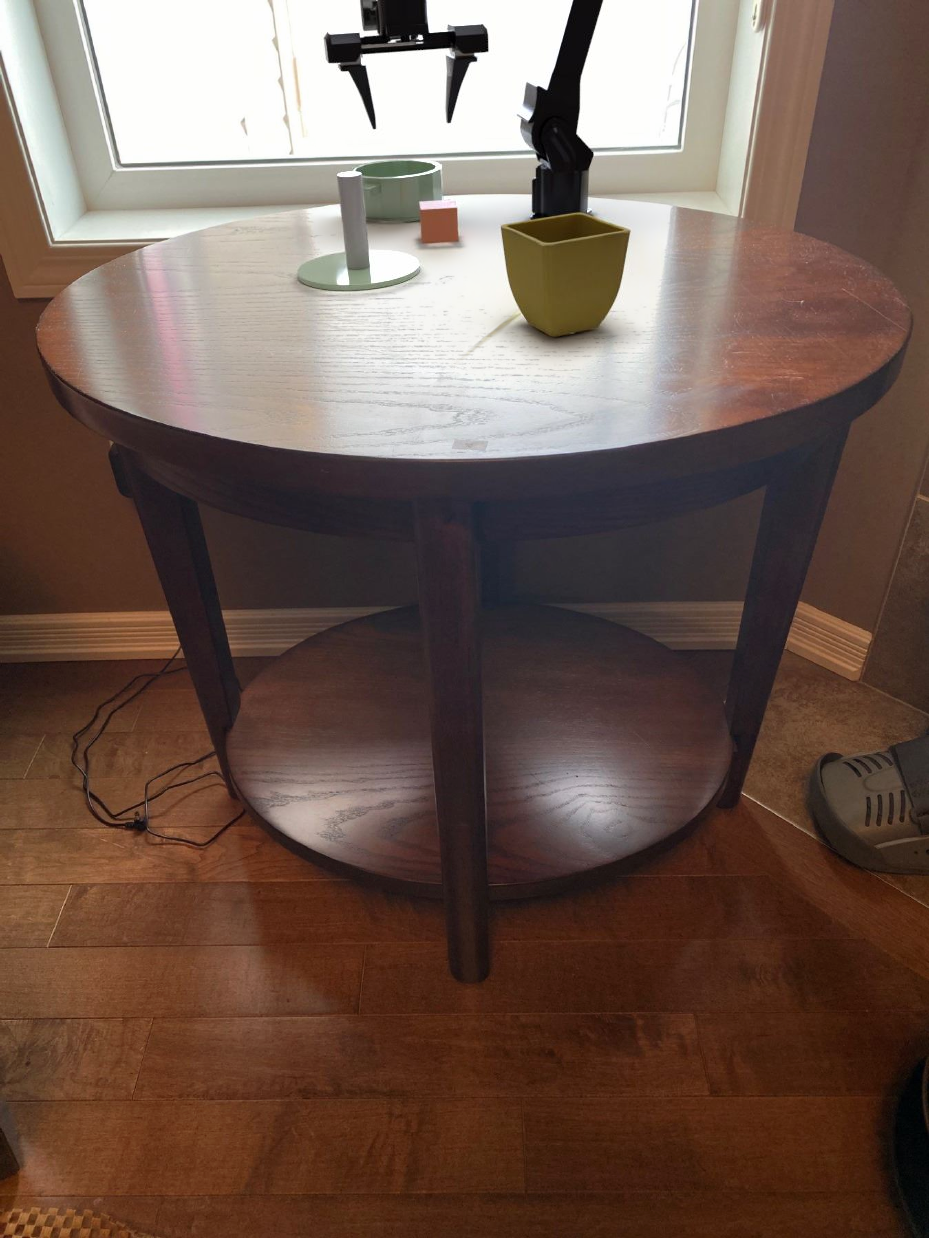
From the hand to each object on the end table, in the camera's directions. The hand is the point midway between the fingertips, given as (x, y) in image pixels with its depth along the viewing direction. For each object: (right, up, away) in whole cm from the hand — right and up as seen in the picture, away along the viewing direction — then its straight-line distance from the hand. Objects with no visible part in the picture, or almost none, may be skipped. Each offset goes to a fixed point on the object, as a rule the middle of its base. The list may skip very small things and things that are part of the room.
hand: (411, 126), depth 111 cm
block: (+3, -14, +1) cm, 14 cm away
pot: (-3, -4, +15) cm, 16 cm away
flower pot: (+16, -33, -25) cm, 44 cm away
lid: (-5, -22, -10) cm, 24 cm away
